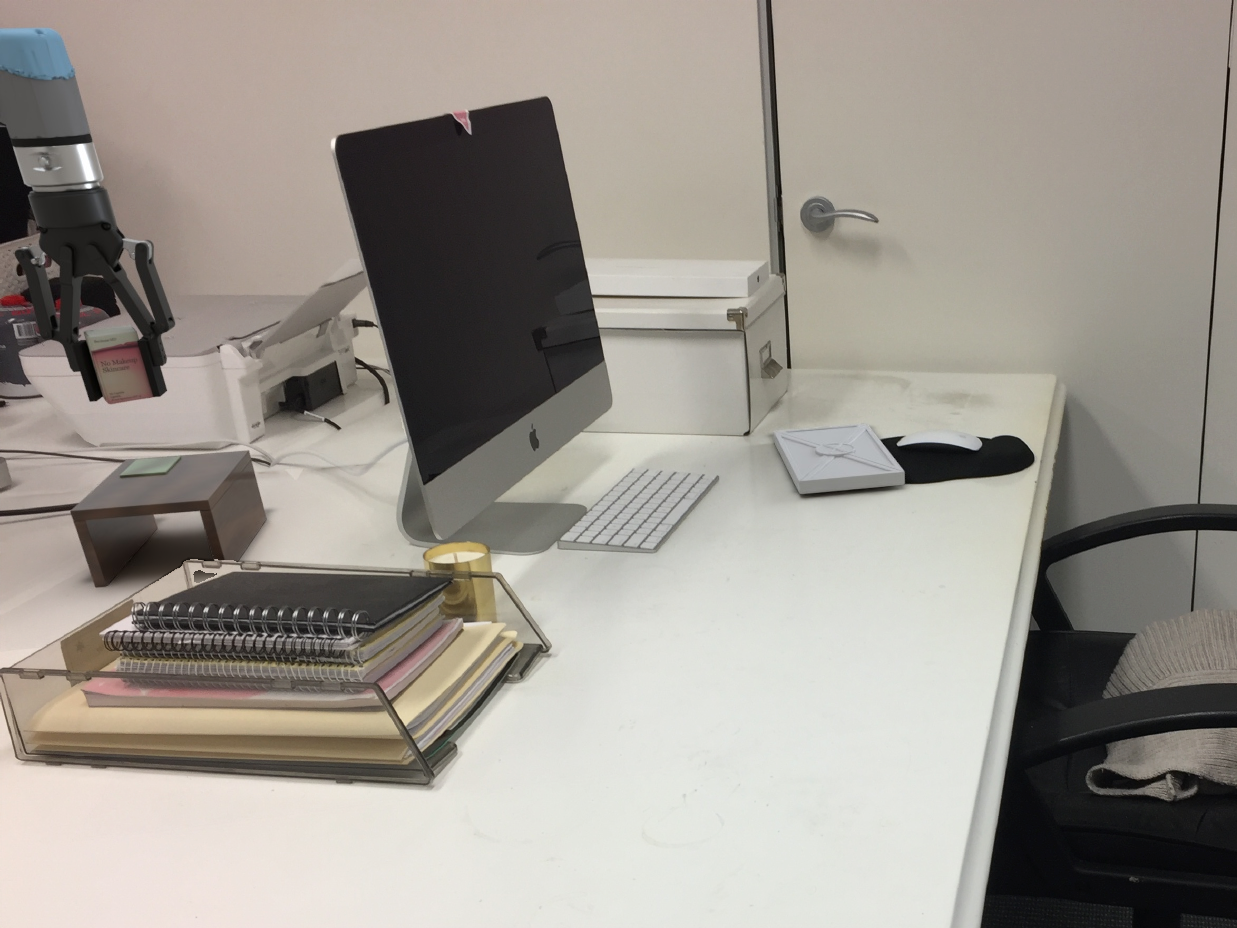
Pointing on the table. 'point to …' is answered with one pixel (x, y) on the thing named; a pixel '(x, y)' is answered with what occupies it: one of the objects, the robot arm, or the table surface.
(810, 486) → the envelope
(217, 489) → the shelf
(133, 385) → the small box
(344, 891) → the table surface
